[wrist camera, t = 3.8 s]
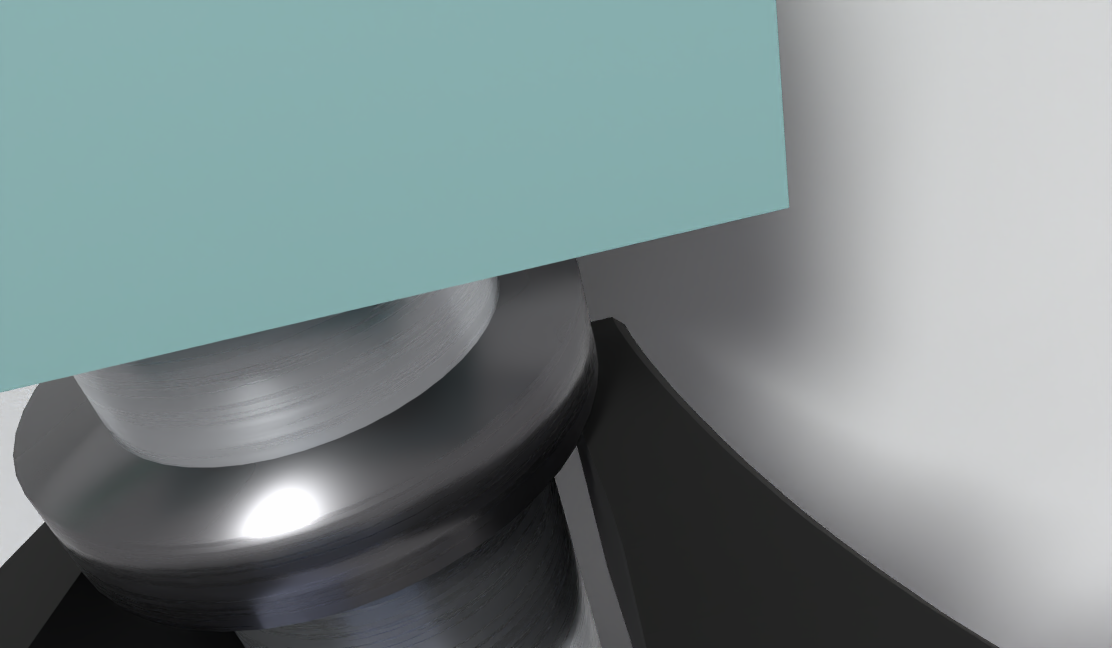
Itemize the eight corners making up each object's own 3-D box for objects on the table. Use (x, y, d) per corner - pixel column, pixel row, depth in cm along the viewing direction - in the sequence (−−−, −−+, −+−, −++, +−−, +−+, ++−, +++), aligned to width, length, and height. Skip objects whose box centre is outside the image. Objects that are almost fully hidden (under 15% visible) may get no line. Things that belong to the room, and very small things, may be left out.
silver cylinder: (689, 792, 15) (769, 1120, 11) (441, 848, 15) (442, 1191, 11) (446, -301, 6) (456, -361, 3) (-113, -164, 7) (-749, -61, 3)
